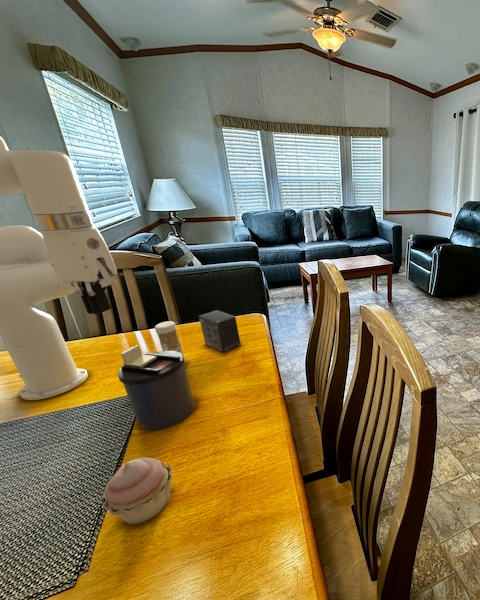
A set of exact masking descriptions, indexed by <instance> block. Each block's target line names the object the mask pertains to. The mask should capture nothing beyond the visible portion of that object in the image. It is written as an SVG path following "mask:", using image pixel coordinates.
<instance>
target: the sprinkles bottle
mask: <svg viewBox="0 0 480 600" xmlns="http://www.w3.org/2000/svg"><path fill="white" fill-rule="evenodd" d="M154 329H155V333H156V334H157V336H158V340H159V344H160V347H161V351H177V352H180V353H181V354H182V355H183V358H184V367H186V365H187V361H186V359H185V356H184V351H183V348H182V345H181V342H180V339H179V336H178V332H177V326H176V323H175V321H172V320H171V321H170V320H167V321H162V322H160V323H159V322H158V324H156V325H155V326H154Z"/></svg>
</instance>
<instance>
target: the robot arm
mask: <svg viewBox="0 0 480 600" xmlns="http://www.w3.org/2000/svg"><path fill="white" fill-rule="evenodd" d="M7 195H9V196H10V195H24V196H25V198H26V200H27V203H28V205H29V208H30V211H31V212H32V215H33V217H34V220H35V223H36V224H37V227H38V230H39V231H37V230H36V229H34V228H33V227H31V226H27V225H22V224H21V225H19V224H18V225H17V224H15V225H14V224H13V225H3V226H0V339H1V341H2V343H3V345H4V347H5V348H6V350H7V353H8V354H9V356H10V358H11V360H12V362H13V364H14V366H15V368H16V370H17V371H18V373H19V375H18V377H19V378H20V379H22V382H23V383H24V386H23V387H22V388H20V390H19V396H20V397H21V399H22V400H24V401H25V400H26V401H38V400H39V401H40V400H45V399H48V398H52V397H55V396H58V395H62V394H64V393H66V392H69V391H71V390H74V389H75V388H76V387H79V386H80V385H81V384H83V383H84V382H85V381H86V380H87V379H88V376H89V373H88V371H87V369H85V368H79V367H77V366H76V364H75V361H74V359H73V356H72V354H71V353H70V350H69V348H68V345H67V343H66V341H65V338H64V336H63V334H62V332H61V329H60V328H59V325H58V323H57V321H56V319H55V318H54V317H53V316H52V315H51V314H49V313H47V312H44V311H43V310H39V309H37V308H35V306H37V305H39V304H42V303H45V302H49V301H52V300H56V299H59V298H62V297H67V296H69V295H71V294H74V293H75V292H76V294H77V295H78V296H80V298H81V300H82V301H81V302H82V303H83V305H84V308H85V310H86V313H87V314H89V315H92V314H93V315H99V314H101V313H104V312H107V311H109V310H111V309H112V307H111V304H110V301H109V299H108V296H107V293H106V292H107V291H108V290H107V289H108V288H107V287H110V286H112V285H114V281H113V278H112V277H116V276H117V275H118V269H117V267H116V264H115V261H114V259H113V256H112V255H111V252H110V249H109V248H108V245H107V243H106V241H105V239H104V237H103V236H102V233H101V232H100V231H99V229H98V228H96V227H95V224H94V222H93V221H94V220H93V218H92V215H91V213H90V210H89V207H88V204H87V202H86V197H85V195H84V193H83V190H82V187H81V184H80V181H79V178H78V175H77V172H76V169H75V167H74V164H73V162H72V159H71V158H70V156H68V155H67V154H66V153H64V152H62V151H56V150H41V149H40V150H37V149H36V150H35V149H29V150H28V149H25V150H24V149H23V150H15V149H14V150H11V149H9V148H8V146H7V144H6V142H5V139H4V138H3V137H2V136H1V135H0V196H7Z"/></svg>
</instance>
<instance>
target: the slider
mask: <svg viewBox="0 0 480 600" xmlns="http://www.w3.org/2000/svg"><path fill="white" fill-rule="evenodd" d="M120 356H121V359H122V362H123V363H122V365H129V366H136V367H143V366H145V365H147V364H148V363H150V362H152V361H153V360H155V359H157V356H151V355H143V353H142V350H141V347H140V345H136V344H135V345H134V346H132V347H129V348H128V349H126V350H123V351H122V352H120Z"/></svg>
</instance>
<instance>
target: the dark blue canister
mask: <svg viewBox="0 0 480 600" xmlns="http://www.w3.org/2000/svg"><path fill="white" fill-rule="evenodd" d="M142 354H143V355H151V356H157V359H155V360H153V361H152V362H150V363H148V364H147V365H145V366H143V367H136V366H129V365H123V364H121V365H120V369H119V370H118V372H117V377H118V380H119V381H120V383H122V384H123V387H124V389H125V392H126V395H127V397H128V400H129V403H130V405H131V407H132V410H133V413H134V415H135V418H136V420H137V423H138V426H139V427H140V428H141V429H143V430H146V431H157V430H158V431H159V430H162V429H166V428H169V427H172V426H174V425H177V424H179V423H180V422H182V421H184V420H185V419H187V418H188V417H189V416H190V415H191V414H192V413H193V412H194V410H195V408H196V401H195V398H194V394H193V391H192V387H191V384H190V381H189V378H188V374H187V370H186V368H185V367H186V366H184V359H185V357H184V358H183V355H184V354H183V355H182V354H181V353H180V352H177V351H163V350H160V351H156V352H147V351H145V352H143V353H142Z"/></svg>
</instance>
